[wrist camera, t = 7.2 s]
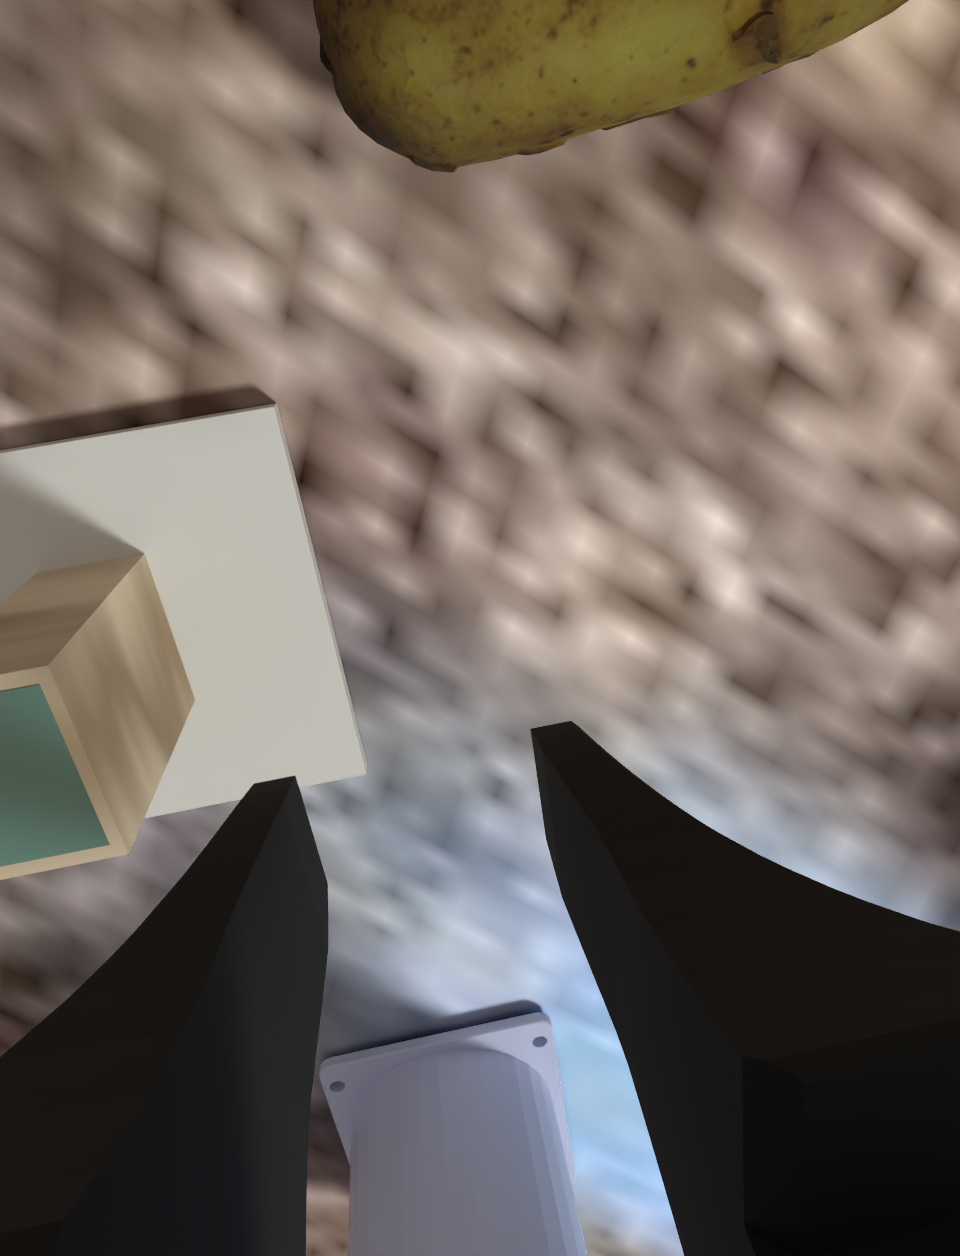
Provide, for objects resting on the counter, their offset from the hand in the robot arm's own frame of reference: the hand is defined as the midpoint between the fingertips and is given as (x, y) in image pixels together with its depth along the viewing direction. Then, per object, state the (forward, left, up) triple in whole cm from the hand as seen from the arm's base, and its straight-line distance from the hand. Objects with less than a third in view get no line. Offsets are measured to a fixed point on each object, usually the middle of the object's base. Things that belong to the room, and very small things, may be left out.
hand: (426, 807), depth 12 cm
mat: (0, +9, -9) cm, 13 cm away
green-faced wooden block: (0, +7, -9) cm, 11 cm away
